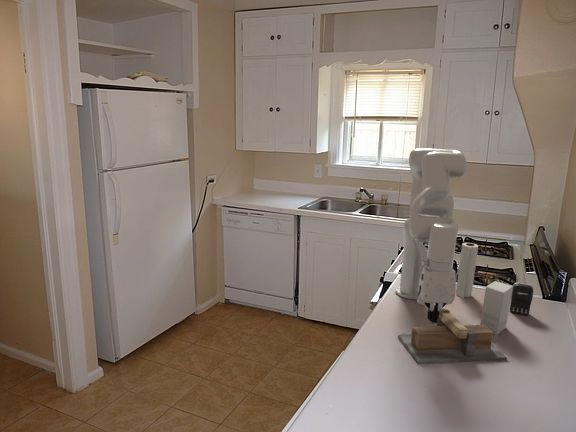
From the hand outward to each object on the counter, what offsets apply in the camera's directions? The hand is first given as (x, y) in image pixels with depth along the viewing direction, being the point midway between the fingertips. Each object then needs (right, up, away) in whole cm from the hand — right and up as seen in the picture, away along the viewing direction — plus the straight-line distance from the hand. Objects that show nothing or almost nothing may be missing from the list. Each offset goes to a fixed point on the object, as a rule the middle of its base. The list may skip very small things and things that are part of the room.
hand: (432, 321), depth 143 cm
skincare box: (+27, -7, +18) cm, 33 cm away
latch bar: (+7, -2, +3) cm, 8 cm away
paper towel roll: (+27, 0, +47) cm, 54 cm away
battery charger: (+42, -4, +31) cm, 53 cm away
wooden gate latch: (+7, -9, +3) cm, 12 cm away
